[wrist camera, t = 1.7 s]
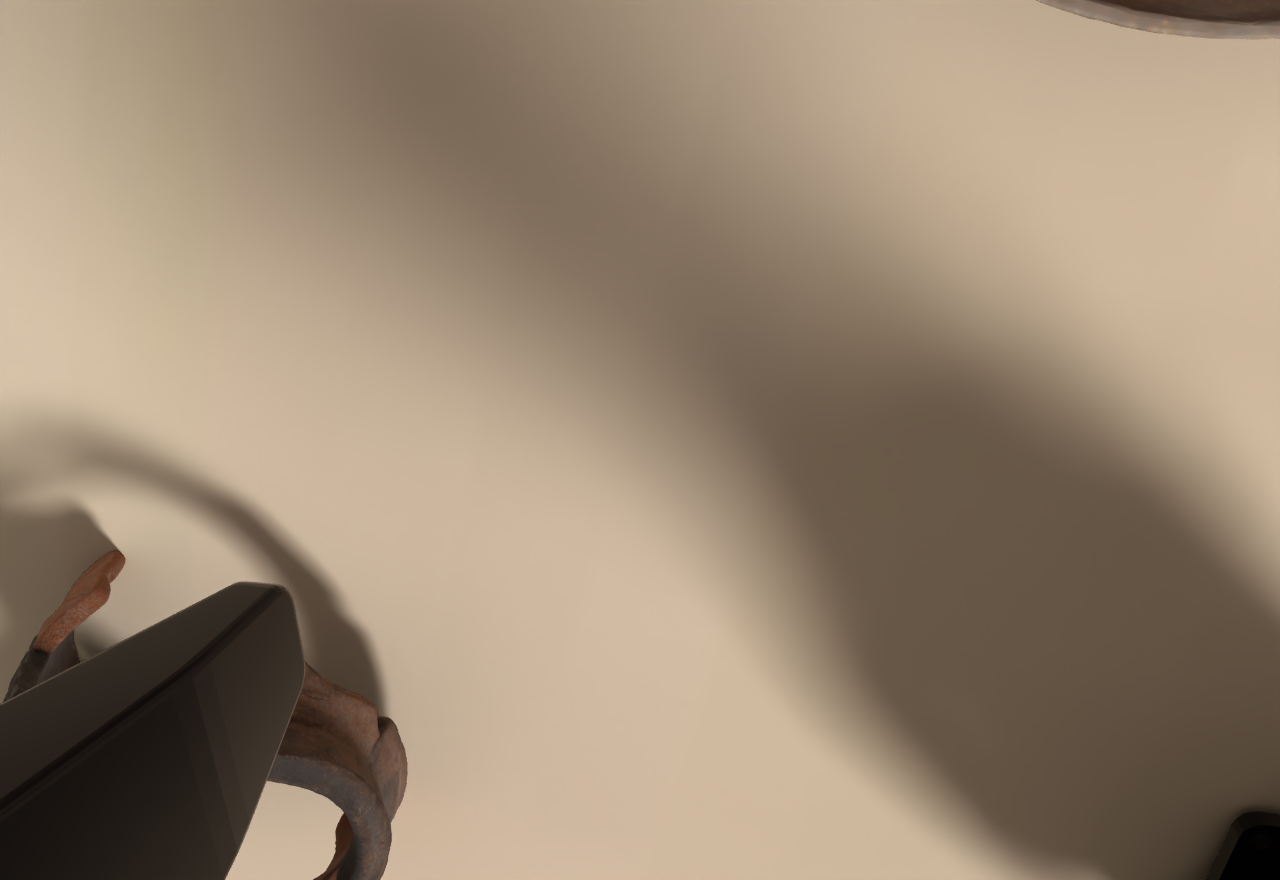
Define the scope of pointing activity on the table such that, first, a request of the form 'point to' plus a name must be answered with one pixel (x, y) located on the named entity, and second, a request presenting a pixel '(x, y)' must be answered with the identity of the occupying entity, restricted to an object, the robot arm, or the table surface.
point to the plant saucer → (1184, 16)
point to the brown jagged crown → (309, 752)
